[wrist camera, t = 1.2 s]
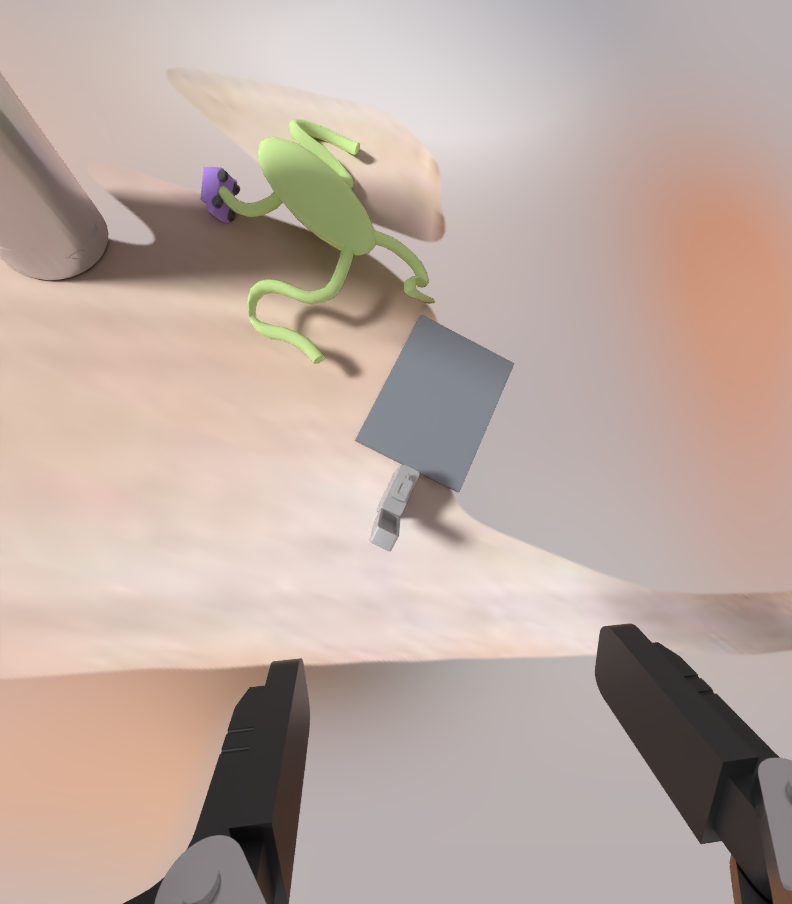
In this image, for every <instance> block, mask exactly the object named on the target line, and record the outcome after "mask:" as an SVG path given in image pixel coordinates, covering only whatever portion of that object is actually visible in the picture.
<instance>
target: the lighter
mask: <svg viewBox="0 0 792 904" xmlns="http://www.w3.org/2000/svg"><path fill="white" fill-rule="evenodd" d="M419 475H420V474H419V471H417V470H415V469H413V468H411V467H409V466H407V465H401V466H400V467H399V468H398V469H397V470H396V471H395V472H394V473H393V476H392V478H391V480H390V482H389V484H388V486H387V488H386V490H385V492H384V494H383V497H382V499H381V501H380V503H379V505H378V507H377V509H376V510H377V512H378V513H379V514H378V516H377V518H376V519H375V521H374V525H373V529H372V533H371V537H370V542H371V543H373V544H375V545H377V546H379V547H381V548H383V549H385V550H387V551H391V550H392V548H393V546H394V544H395V542H396V540H397V539H398V537H399V528H400V517H399V516H400V515H401V514H402V512H403V510H404V508H405V506H406V503H407V501H408V499H409V497H410V495H411V492H412V490H413V488H414V486H415V484H416V481H417V479H418V477H419Z"/></svg>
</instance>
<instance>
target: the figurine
mask: <svg viewBox="0 0 792 904" xmlns="http://www.w3.org/2000/svg"><path fill="white" fill-rule="evenodd" d="M289 130H290V132H291V134H292V136H293V138H294V139H295V140H296V141H297V142H298V143H299V144H301V145H302V146H303V147H302V146H300V145H298V144H297V143H295V142H292V141H288V140H285V139H281V138H277V137H269V138H267V139H264V140H263V141H262V142H260V145H259V152H258V159H259V162H260V165H261V168H262V171H263V174H264V176H265V177H266V179H267V181H268V182H269V184H270V185H271V187H272V189H273V190H274V192H273V193H272V194H271V195H270V196H269V197H267V198H265V199H263V200H261V201H258V202H255V203H244V202H241V201H239V200H237V199H236V198H235V197H234V196H235V195H237V194H238V193H239V191H240V187H239V186H238V185H237V182H236V179H233V178H232V177H231V176H230V175H229V174H228V173H227V172H226V171H225V170H224V169H222V168H218V167H204V171H203V181H202V191H201V200H202V201H203V202H205V204H206V205H207V210H208V212H209V213H211V214H212V215H213V216H214V217H216V218H217V219H218V220H220V221H222V222H223V223H227V224H228V223H229V221H233V220H234V218H235V213H234V212H233V211H232V210H234V211H235V212H236V213H238V214H241V215H244V216H248V217H256V216H261V215H264V214H267V213H269V212H271V211H273V210H275V209H277V208H278V207H279V206H280V205H281V204H282V203H284V204H285V205H286V206H287V208H288V209H289V210H290V211H291V212H292V213H293V215H294V216H295V217H296V218H297V219H298V220H299V221H300V222H301V223H302V224H303V225H305V226H306V227H307V228H308V229H309V230H310V231H312V232H313V233H314V234H315V235H316V236H317V237H318V238H320V239H322V240H323V241H325V242H327V243H328V244H330V245H332V246H333V247H335V248H337V249H338V250H341V253H340V258H339V261H338V263H337V266H336V269H335V272H334V274H333V276H332V278H331V281H330V282H329V283H328V284H327V285H326V287H325V288H322V289H319V290H316V291H304V290H302V289H299V288H297V287H295V286H292V285H290V284H288V283H285V282H282V281H279V280H272V279H267V280H262V281H258V282H257V283H256V284H255V285H254V286H253V287H252V288H251V289H250V292H249V295H248V299H247V303H248V312H249V317H250V321H251V324H252V325H253V327H254V328H255V329H256V330H257V331H258V332H259V333H260V334H261V335H263V336H265V337H268V338H270V339H274V340H281V341H284V342H287V343H290V344H292V345H294V346H296V347H298V348H300V349H301V350H302V351H303V352H304V353H305V354H306V355H307V356H308V357H309V358H310V359H311V361H312V362H313V363H315V364H317V363H320V362H321V361H323V360H324V358H325V356H324V355H323V354H322V352H321V351H320V350H319V349H318V348H317V346H315V345H314V344H313V343H312V342H311V341H310V340H309V339H308V338H306V337H305V336H303V335H301V334H299V333H298V332H295V331H293V330H290V329H287V328H284V327H278V326H273V325H269V324H266V323H263V322H260V321H259V320H258V319H257V318H256V306H257V302H258V301H259V299H260V298H261V297H262V296H263V295H264V294H270V293H278V294H283V295H286V296H288V297H291V298H294V299H296V300H298V301H301V302H304V303H308V304H318V303H323V302H326V301H328V300H330V299H332V298H334V297H335V296H336V295H337V293H338V292H339V291H340V290H341V288H342V286H343V283H344V281H345V279H346V277H347V274H348V271H349V268H350V265H351V262H352V259H353V254H354V255H363V254H367V253H369V252H370V251H371V250H372V249H373V248H374V247H375V245H376V244H377V245H379V246H383V247H385V248H387V249H389V250H391V251H393V252H394V253H395V254H397V255H398V256H399V257H400V258H402V259H403V260H404V261H405V262H406V263H407V264H408V265H409V266H410V267H411V268H412V269H413V271H414V273H415V274H416V276H414V277H411V278H409V279H408V280H406V281H405V282H404V293H406V294H407V295H408V296H409V297H413V298H416V299H420V300H423V301H424V302H426V303H428V304H430V303H434V302H435V301H434V299H433V298H431V297H428V296H426V295H424V294H422V293H420V292H419V291H418V290H417V289H416V285H417V286H418V287H425V286H427V284H428V283H429V280H428V276H427V272H426V270H425V268H424V266H423V264H422V262H421V261H420V260H419V259H418V258H417V257H416V255H414V254H413V253H412V252H411V251H410V250H409V249H408V248H407V247H406V246H405V245H403V244H402V243H401V242H399V241H398V240H396V239H394V238H393V237H391V236H388V235H385V234H383V233H381V232H378V231H375V230H374V228H373V225H372V223H371V221H370V218H369V216H368V214H367V212H366V210H365V208H364V207H363V205H362V204H361V202H360V201H359V200H358V198H357V197H356V195H355V194H354V192H353V191H352V187H353V185H354V182H353V178H352V176H351V175H350V174H349V173H348V172H347V171H346V170H345V168H344V167H343V166H342V165H341V164H340V162H339V161H338V160H337V159H336V158H335V157H334V156H333V155H332V153H330V152H329V151H328V150H327V149H326V148H325V147H324V146H322V145H321V144H320V143H318V142H317V141H316V140H314V139H313V138H312V137H315V138H318V139H320V140H323V141H326V142H328V143H331V144H333V145H335V146H337V147H339V148H341V149H343V150H344V151H346V152H348V153H351V154H353V155H355V154H357V153H358V151H359V148H360V143H359V142H358V143H357V142H354V141H352V140H350V139H348V138H346V137H344V136H342V135H339V134H337V133H335V132H333V131H331V130H329V129H327V128H325V127H322V126H319V125H317V124H314V123H311V122H308V121H305V120H296V119H294V120H293V121H291V122H290V124H289ZM310 136H312V137H310ZM304 147H305V148H306V149H305V148H304Z"/></svg>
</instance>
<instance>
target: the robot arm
mask: <svg viewBox="0 0 792 904" xmlns="http://www.w3.org/2000/svg"><path fill="white" fill-rule="evenodd" d="M107 243H108V230H107V225H106V223H105V221H104V219H103V217H102V215H101V214H100V212H99V211H98V210H97V208H96V207H95V205H94V204H93V203H92V201H91V200H90V198H89V197H88V196H87V194H86V193H85V191H84V190H83V189H82V187H81V186H80V184H79V183H78V181H77V180H76V178H75V177H74V175H73V174H72V173H71V171H70V170H69V168H68V167H67V165H66V164H65V163H64V161H63V160H62V158H61V157H60V156H59V154H58V153H57V151H56V150H55V149H54V147H53V146H52V144H51V143H50V142H49V140H48V139H47V137H46V136H45V134H44V133H43V132H42V130H41V129H40V128H39V126H38V125H37V123H36V122H35V120H34V119H33V117H32V116H31V115H30V113H29V112H28V110H27V109H26V107H25V106H24V105H23V103H22V102H21V100H20V99H19V98H18V96H17V95H16V93H15V92H14V91H13V89H12V88H11V86H10V85H9V83H8V82H7V81H6V79H5V78H4V76H3V75H2V74H1V72H0V258H1V259H2V260H3V261H5V262H6V263H7V264H8V265H9V266H11V267H12V268H13V269H14V270H16V271H18V272H20V273H22V274H24V275H26V276H29V277H32V278H36V279H44V280H59V279H65V278H69V277H73V276H75V275H78V274H80V273H83V272H84V271H86V270H87V269H89V268H91V267H92V266H93V265H94V264H95V263H96V262H97V261H98V260H99V259H100V258H101V256H102V255H103V253H104V251H105V249H106V246H107ZM595 677H596V682H597V685H598V688H599V691H600V693H601V695H602V696H603V698H604V700H605V701H606V703H607V704H608V705H609V707H610V709H611V710H612V712H613V713H614V715H615V716H616V717H617V719H618V720H619V722H620V724H621V725H622V727H623V728H624V730H625V731H626V733H627V734H628V736H629V737H630V739H631V740H632V742H633V743H634V745H635V746H636V748H637V749H638V751H639V752H640V754H641V755H642V757H643V758H644V759H645V761H646V763H647V764H648V766H649V767H650V769H651V770H652V772H653V773H654V775H655V776H656V778H657V779H658V781H659V782H660V783H661V785H662V787H663V788H664V790H665V791H666V793H667V794H668V796H669V797H670V799H671V800H672V802H673V803H674V805H675V806H676V808H677V809H678V811H679V812H680V814H681V815H682V817H683V818H684V820H685V821H686V823H687V824H688V826H689V827H690V829H691V830H692V832H693V833H694V835H695V836H696V838H697V839H698V841H699V842H700V844H705V843H712V842H718V841H722V842H723V843H724V845H725V846H726V847H727V849H728V850H729V852H730V853H731V858H730V873H731V882H732V889H733V898H734V904H792V761H791V760H788V759H783V758H780V757H779V756H778V755H777V754H775V753H774V752H773V751H772V750H771V749H770V747H769V746H768V745H767V744H766V743H765V742H764V741H763V740H762V739H761V738H760V737H758V735H757V734H756V733H755V732H754V731H753V730H752V729H751V728H750V727H749V726H748V725H747V724H746V723H745V722H744V721H743V720H742V719H741V718H740V717H739V716H738V715H737V714H736V713H735V712H734V711H733V710H732V709H731V708H730V707H729V706H728V705H727V704H726V703H725V702H724V701H723V700H722V699H721V698H720V697H719V696H718V695H717V694H714V693H713V690H712V689H711V687H709V685H708V684H707V683H706V682H705V681H704V680H702V678H699V677H698V674H697V673H696V672H695V671H694V670H693V669H692V668H691V667H690V666H689V665H688V664H687V663H686V662H685V661H684V660H683V659H682V658H681V657H680V656H678V655H677V654H675V653H674V652H672V651H671V650H669V649H668V648H666V647H664V646H663V645H661V644H660V643H658V642H656V643H652V642H651V641H650V640H649V639H648V638H647V637H646V636H645V635H644V634H643V633H642V632H641V631H640V629H639V628H637V627H636V626H635V625H633V624H622V625H613V626H604V627H602V628H601V630H600V635H599V642H598V650H597V658H596V666H595ZM309 726H310V707H309V698H308V691H307V684H306V677H305V671H304V664H303V660H302V659H292V660H282V661H273V662H272V663H271V665H270V669H269V673H268V677H267V680H266V684H265V686H258V687H250V688H249V689H248V690H247V692H246V693H245V694H244V696H243V697H242V699H241V700H240V701H239V703H238V704H237V705H236V707H235V709H234V712H233V715H232V718H231V721H230V724H229V728H228V734H226V737H225V740H224V743H223V746H222V752H221V754H220V755H219V758H218V762H217V765H216V768H215V771H214V774H213V777H212V780H211V783H210V786H209V790H208V793H207V796H206V799H205V803H204V805H203V808H202V811H201V814H200V818H199V821H198V824H197V827H196V830H195V833H194V835H193V838H192V840H191V842H190V844H189V846H188V848H187V850H186V851H185V852H184V853H183V854H182V855H181V856H180V857H179V858H178V859H177V860H176V861H175V863H174V864H173V865H172V867H171V868H170V869H169V871H168V872H167V874H166V876H165V877H164V878H163V879H162V880H161V881H159V882H158V883H157V884H156V885H154V886H153V887H152V888H150V889H149V890H147V891H145V892H144V893H142V894H140V895H139V896H137V897H135V898H133V899H131V900H129V901H127V902H125V903H123V904H289V897H290V889H291V880H292V872H293V863H294V855H295V847H296V838H297V830H298V821H299V813H300V804H301V796H302V787H303V779H304V771H305V762H306V754H307V745H308V737H309Z"/></svg>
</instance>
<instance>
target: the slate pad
mask: <svg viewBox="0 0 792 904" xmlns="http://www.w3.org/2000/svg"><path fill="white" fill-rule="evenodd" d="M513 365H514V363H512V362H511V361H509V360H507V359H505V358H503V357H501V356H499V355H497V354H495V353H493V352H491V351H490V350H487V349H486V348H484V347H482V346H480V345H478V344H476V343H474V342H472V341H471V340H469V339H467V338H465V337H463V336H461V335H459V334H457V333H455V332H454V331H452V330H450V329H448V328H446V327H444V326H442V325H440V324H438V323H436V322H435V321H433V320H431V319H429V318H427V317H425V316H423V315H420V317H419V319H418V321H417V323H416V325H415V327H414V328H413V330H412V332H411V334H410V336H409V338H408V340H407V342H406V344H405V346H404V348H403V350H402V351H401V353H400V355H399V357H398V359H397V361H396V363H395V365H394V367H393V369H392V371H391V373H390V374H389V376H388V378H387V380H386V382H385V384H384V386H383V388H382V390H381V392H380V394H379V396H378V397H377V399H376V401H375V403H374V405H373V407H372V409H371V411H370V413H369V415H368V417H367V419H366V421H365V422H364V424H363V426H362V428H361V430H360V432H359V434H358V436H357V438H356V440H355V441H357V442H359V443H361V444H363V445H365V446H367V447H369V448H371V449H373V450H374V451H376V452H378V453H380V454H382V455H384V456H386V457H388V458H390V459H392V460H394V461H396V462H398V463H400V464H402V465H407V466H409V467H411V468H413V469H415V470H417V471H419V473H420V474H422V475H424V476H426V477H428V478H430V479H432V480H434V481H436V482H438V483H440V484H442V485H444V486H446V487H448V488H450V489H452V490H454V491H456V492H460V489H461V487H462V485H463V482H464V480H465V478H466V475H467V473H468V471H469V468H470V466H471V464H472V461H473V459H474V457H475V454H476V452H477V450H478V447H479V445H480V443H481V440H482V438H483V436H484V433H485V431H486V429H487V426H488V424H489V422H490V419H491V417H492V415H493V412H494V410H495V408H496V405H497V403H498V400H499V398H500V396H501V393H502V391H503V389H504V386H505V384H506V382H507V379H508V377H509V374H510V372H511V370H512V368H513Z"/></svg>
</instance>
